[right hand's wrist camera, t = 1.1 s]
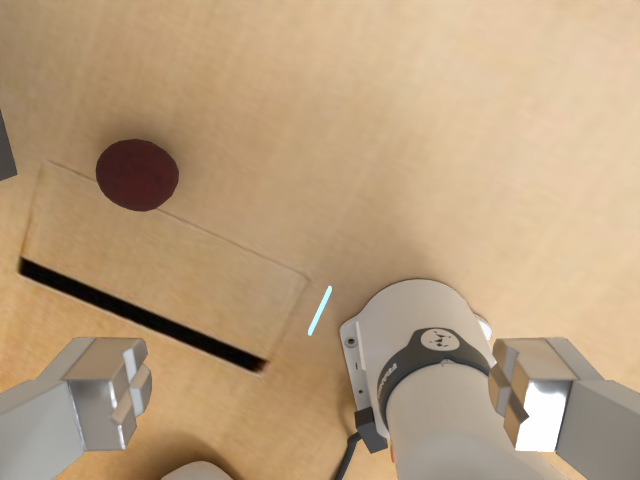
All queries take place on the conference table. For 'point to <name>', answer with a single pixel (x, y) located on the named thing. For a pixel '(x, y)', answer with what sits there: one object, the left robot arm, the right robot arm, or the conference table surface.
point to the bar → (5, 154)
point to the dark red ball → (136, 174)
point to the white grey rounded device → (198, 472)
